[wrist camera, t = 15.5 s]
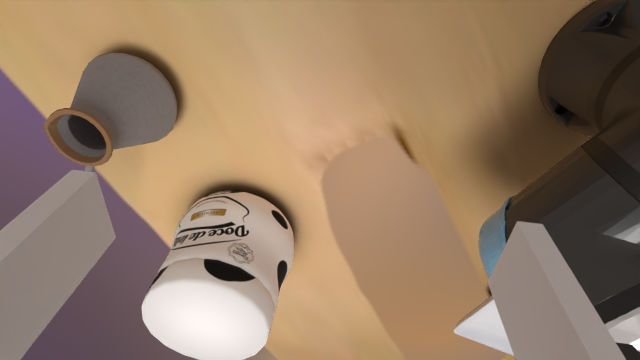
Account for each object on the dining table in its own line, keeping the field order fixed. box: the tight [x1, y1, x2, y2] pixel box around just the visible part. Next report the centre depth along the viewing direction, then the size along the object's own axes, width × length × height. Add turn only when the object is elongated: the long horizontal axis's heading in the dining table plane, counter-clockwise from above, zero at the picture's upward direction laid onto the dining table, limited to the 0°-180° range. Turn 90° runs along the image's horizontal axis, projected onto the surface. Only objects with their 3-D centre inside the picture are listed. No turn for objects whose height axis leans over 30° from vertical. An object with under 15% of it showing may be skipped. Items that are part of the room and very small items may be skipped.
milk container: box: [142, 190, 294, 360], centre depth 52 cm, size 17×17×18 cm
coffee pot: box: [43, 53, 177, 172], centre depth 44 cm, size 21×12×15 cm, turn 157°
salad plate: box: [454, 296, 514, 356], centre depth 62 cm, size 21×21×3 cm
